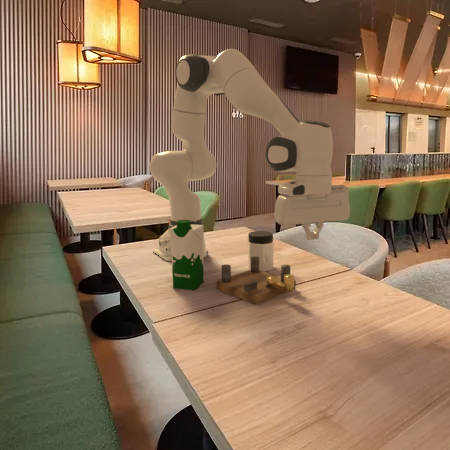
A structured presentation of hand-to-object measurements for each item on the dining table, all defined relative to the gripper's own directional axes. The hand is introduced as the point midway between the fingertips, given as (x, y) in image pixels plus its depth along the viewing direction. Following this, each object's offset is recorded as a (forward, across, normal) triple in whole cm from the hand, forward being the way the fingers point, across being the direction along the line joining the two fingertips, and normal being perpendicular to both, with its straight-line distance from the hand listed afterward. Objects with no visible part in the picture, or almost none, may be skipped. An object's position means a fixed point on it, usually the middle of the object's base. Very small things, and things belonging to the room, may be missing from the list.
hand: (312, 239), depth 101 cm
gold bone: (+14, +8, -3) cm, 16 cm away
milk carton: (+16, +29, -21) cm, 39 cm away
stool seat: (+16, +12, -11) cm, 23 cm away
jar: (+16, +3, -28) cm, 33 cm away
